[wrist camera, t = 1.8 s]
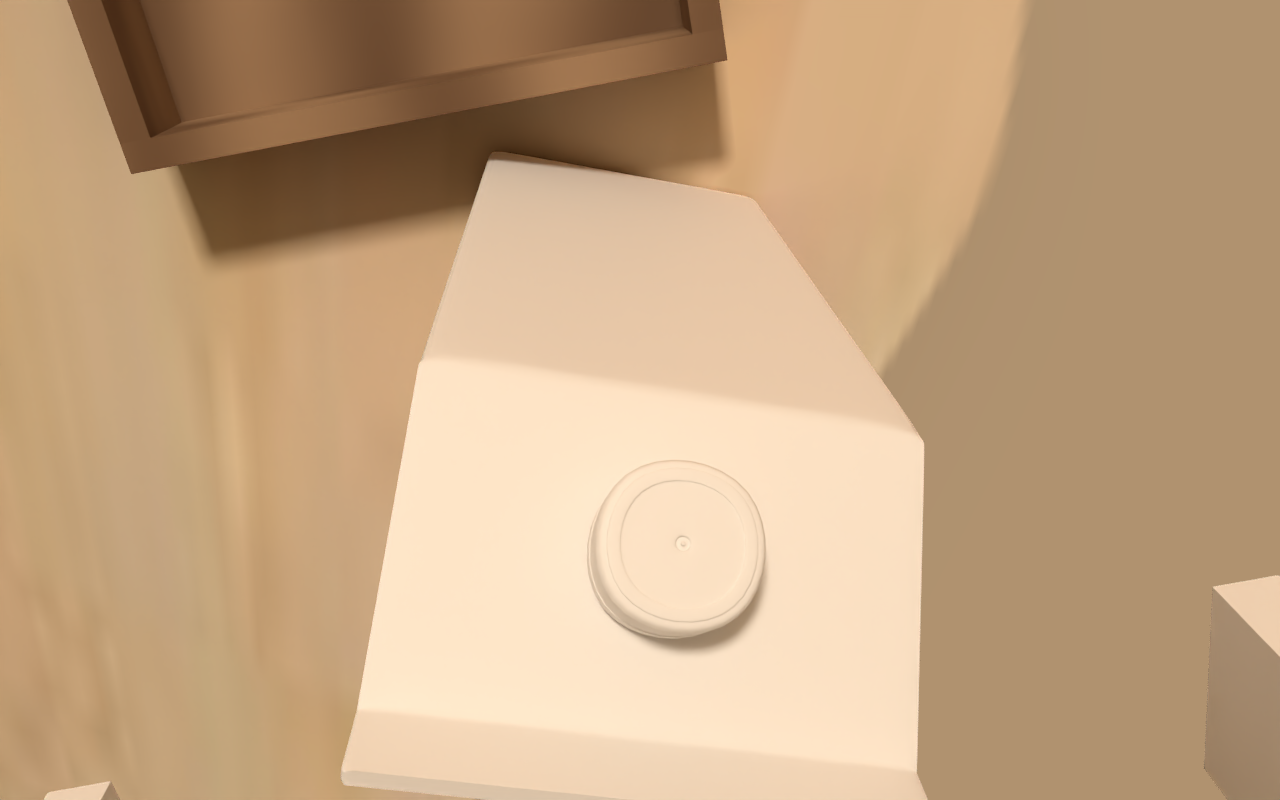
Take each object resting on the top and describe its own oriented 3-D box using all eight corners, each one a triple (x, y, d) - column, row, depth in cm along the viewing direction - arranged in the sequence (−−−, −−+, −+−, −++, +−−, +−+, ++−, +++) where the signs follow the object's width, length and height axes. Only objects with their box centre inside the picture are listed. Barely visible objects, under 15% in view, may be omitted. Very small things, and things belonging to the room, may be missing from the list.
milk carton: (699, 432, 32) (861, 1040, 14) (455, 396, 31) (314, 999, 13) (755, 195, 29) (1038, 591, 12) (490, 147, 28) (371, 498, 11)
